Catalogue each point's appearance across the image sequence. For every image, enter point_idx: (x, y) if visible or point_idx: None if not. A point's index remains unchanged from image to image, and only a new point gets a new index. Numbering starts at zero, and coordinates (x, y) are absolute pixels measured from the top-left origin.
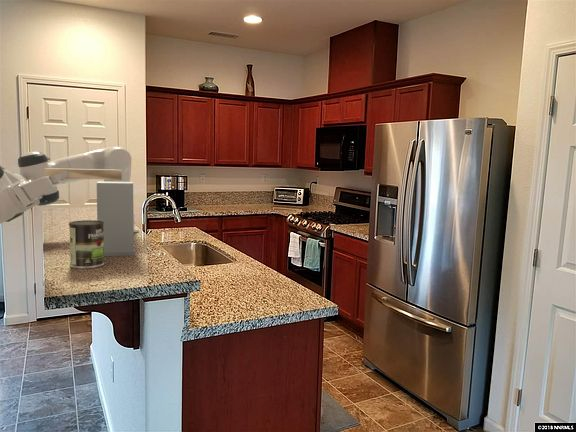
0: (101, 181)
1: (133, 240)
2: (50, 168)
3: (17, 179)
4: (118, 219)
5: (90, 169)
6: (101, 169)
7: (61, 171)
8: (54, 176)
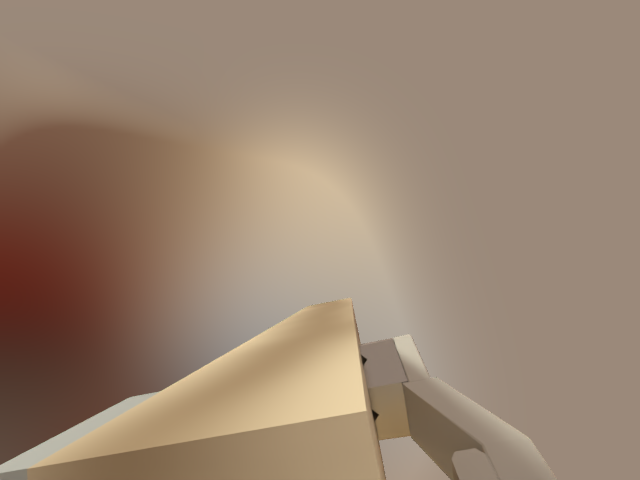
0: (5, 463)
1: None
2: (200, 401)
3: None
4: None
5: (327, 311)
6: (306, 311)
7: (362, 364)
8: (528, 448)
